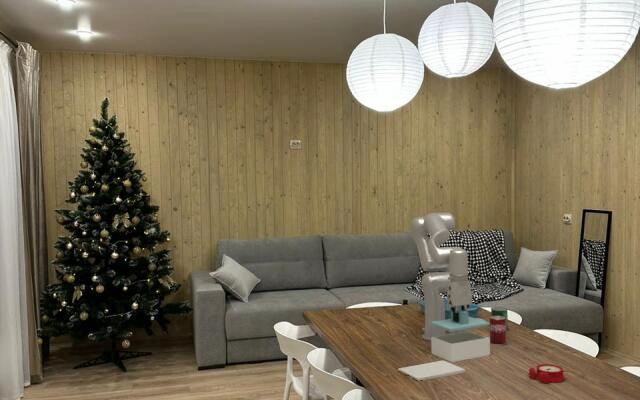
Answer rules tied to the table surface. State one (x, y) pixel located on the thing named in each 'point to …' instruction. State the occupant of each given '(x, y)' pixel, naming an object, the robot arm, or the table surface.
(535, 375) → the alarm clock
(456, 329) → the lid
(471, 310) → the casserole dish
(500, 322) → the soda can
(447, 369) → the mat
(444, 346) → the tub
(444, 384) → the table surface
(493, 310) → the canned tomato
